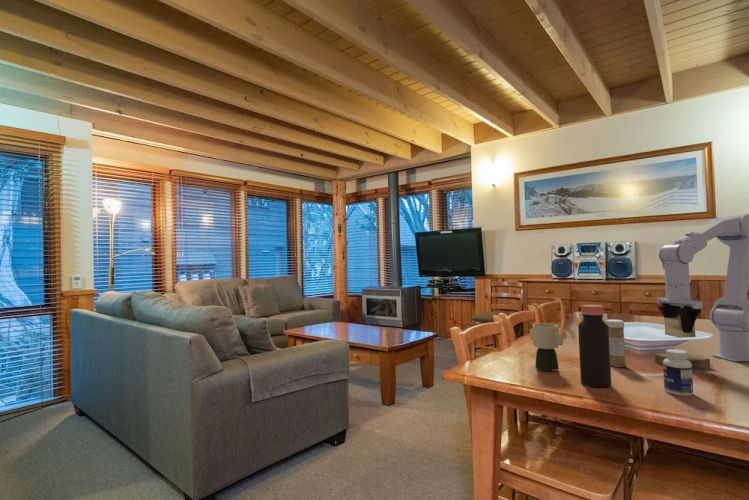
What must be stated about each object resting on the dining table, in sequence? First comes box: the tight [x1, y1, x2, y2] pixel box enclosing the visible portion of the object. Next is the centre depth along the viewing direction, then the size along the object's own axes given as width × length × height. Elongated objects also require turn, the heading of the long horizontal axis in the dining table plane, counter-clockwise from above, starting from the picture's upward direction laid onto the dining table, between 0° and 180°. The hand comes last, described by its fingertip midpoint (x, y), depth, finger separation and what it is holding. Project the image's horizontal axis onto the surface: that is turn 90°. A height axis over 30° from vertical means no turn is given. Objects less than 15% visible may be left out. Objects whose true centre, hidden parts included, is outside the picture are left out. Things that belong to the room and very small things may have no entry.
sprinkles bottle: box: [605, 318, 627, 368], centre depth 116 cm, size 5×5×14 cm
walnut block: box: [654, 352, 711, 371], centre depth 114 cm, size 9×9×3 cm
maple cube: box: [663, 316, 696, 339], centre depth 114 cm, size 5×5×5 cm
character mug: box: [529, 322, 564, 372], centre depth 113 cm, size 11×7×13 cm, turn 29°
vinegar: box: [577, 304, 612, 389], centre depth 100 cm, size 7×7×20 cm
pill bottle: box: [662, 348, 694, 397], centre depth 92 cm, size 5×5×10 cm
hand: (679, 330), depth 114 cm, fingers closed on maple cube, 5 cm apart
